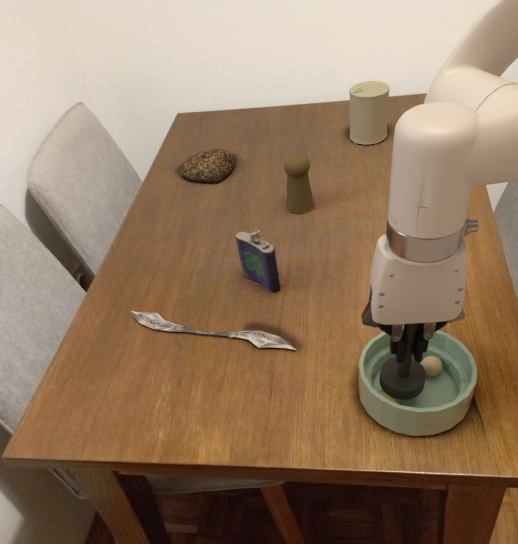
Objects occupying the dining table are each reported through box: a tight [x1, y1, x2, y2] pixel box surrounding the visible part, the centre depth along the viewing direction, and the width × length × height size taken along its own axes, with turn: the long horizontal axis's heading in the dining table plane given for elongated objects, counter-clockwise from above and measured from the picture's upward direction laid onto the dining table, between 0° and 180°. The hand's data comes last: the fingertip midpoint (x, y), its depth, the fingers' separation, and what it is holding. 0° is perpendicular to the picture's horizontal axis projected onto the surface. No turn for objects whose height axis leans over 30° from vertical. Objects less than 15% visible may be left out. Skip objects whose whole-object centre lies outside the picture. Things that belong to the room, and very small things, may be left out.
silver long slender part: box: [130, 310, 297, 351], centre depth 89 cm, size 32×1×5 cm
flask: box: [235, 229, 282, 294], centre depth 93 cm, size 9×3×11 cm, turn 43°
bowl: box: [357, 326, 478, 437], centre depth 73 cm, size 15×15×6 cm
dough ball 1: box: [379, 390, 400, 404], centre depth 72 cm, size 3×3×3 cm
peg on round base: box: [379, 323, 426, 400], centre depth 67 cm, size 6×6×13 cm
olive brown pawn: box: [283, 153, 315, 214], centre depth 108 cm, size 6×6×11 cm
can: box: [348, 80, 390, 144], centre depth 125 cm, size 9×9×12 cm
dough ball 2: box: [421, 356, 443, 377], centre depth 75 cm, size 3×3×3 cm
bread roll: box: [180, 148, 236, 184], centre depth 126 cm, size 13×12×5 cm
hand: (407, 354), depth 67 cm, fingers closed on peg on round base
